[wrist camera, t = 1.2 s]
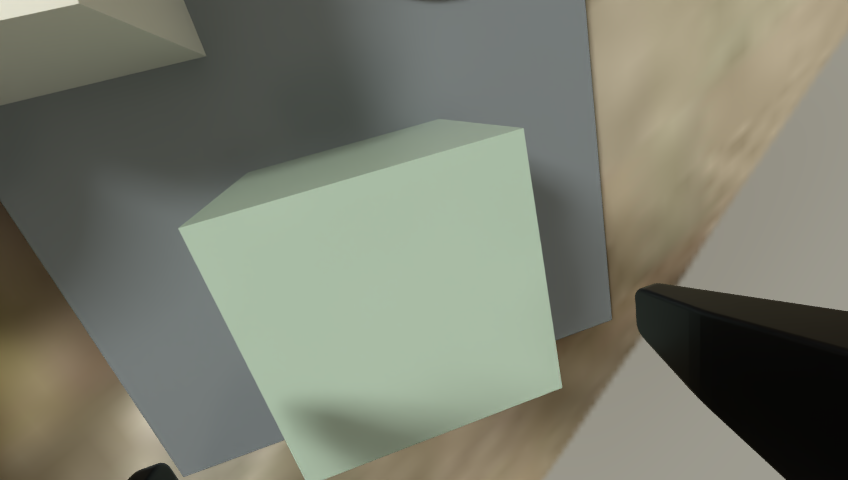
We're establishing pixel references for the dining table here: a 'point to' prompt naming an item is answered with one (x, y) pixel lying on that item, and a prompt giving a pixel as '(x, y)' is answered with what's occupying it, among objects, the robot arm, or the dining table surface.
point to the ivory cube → (88, 42)
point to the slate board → (276, 143)
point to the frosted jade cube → (384, 288)
